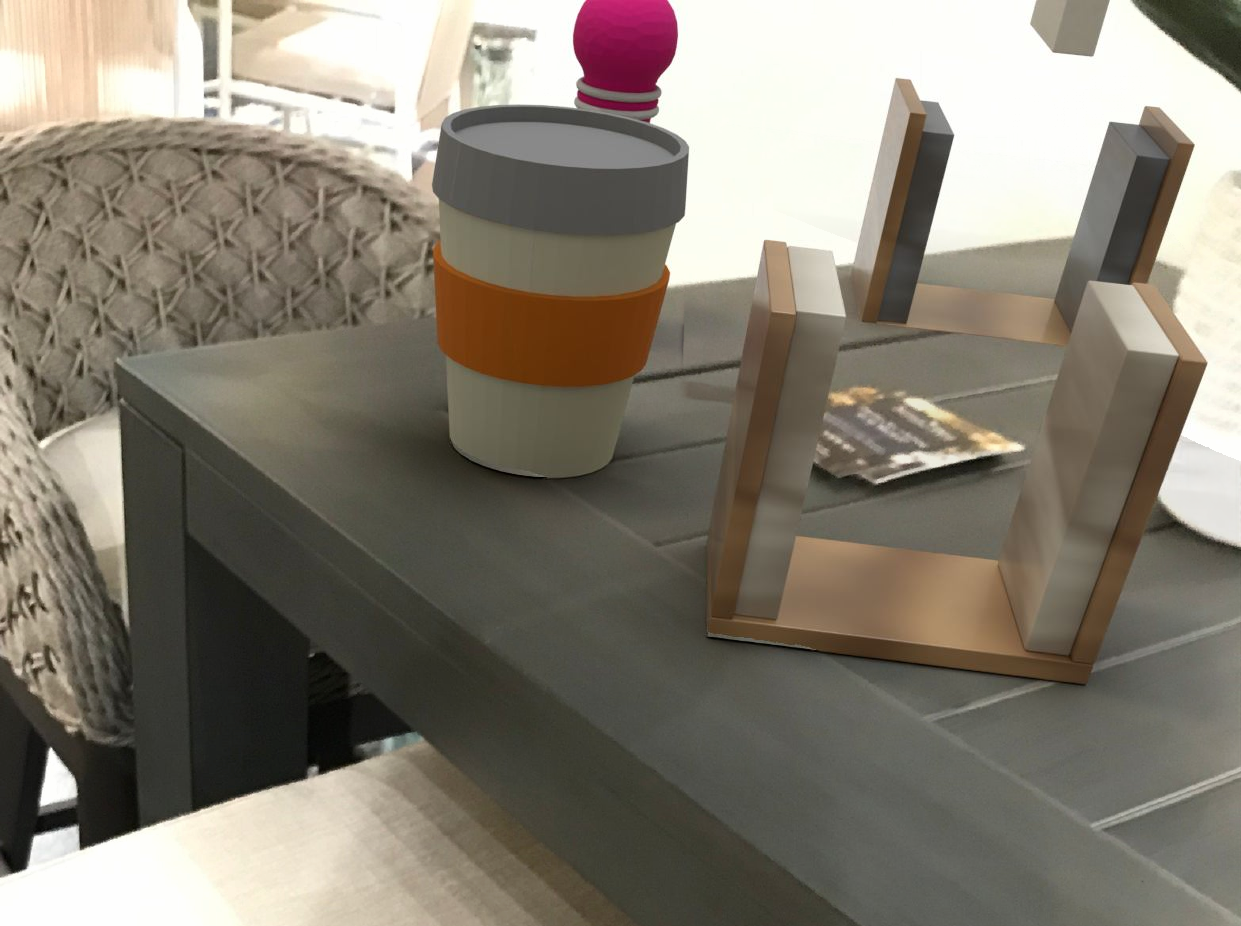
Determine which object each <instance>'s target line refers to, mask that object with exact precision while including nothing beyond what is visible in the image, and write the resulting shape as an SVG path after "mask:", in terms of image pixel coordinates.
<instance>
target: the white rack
mask: <svg viewBox="0 0 1241 926" xmlns="http://www.w3.org/2000/svg"><path fill="white" fill-rule="evenodd" d="M762 244H763V245H762V247H761V248H762V249H761V254H760V260H759V264H758V270H757V275H756V280H755V285H754V291H753V296H752V300H751V301H752V302H751V306H750V312H749V317H748V322H747V327H746V332H745V333H746V334H745V338H744V341H743V342H744V343H743V348H742V354H741V357H740V359H741V360H740V363H739V368H738V369H739V370H738V375H737V380H736V384H735V389H734V390H735V392H734V395H733V400H732V406H731V411H730V417H729V422H728V427H727V431H726V432H727V433H726V437H725V442H724V449H723V454H722V458H721V462H720V463H721V464H720V469H719V474H718V479H717V485H716V490H715V496H714V500H713V505H712V510H711V516H710V522H709V527H708V533H707V538H706V543H705V544H706V545H705V547H706V548H705V550H706V551H705V553H706V554H705V555H706V558H705V559H706V561H705V563H706V564H705V565H706V573H705V574H706V575H705V576H706V577H705V578H706V581H707V584H706V631H707V630H708V632H710V633H713V634H722V635H727V636H732V637H744V638H753V639H755V640H764V641H770V642H774V643H776V642H778V643H784V644H788V645H795V644H797V645H801V646H805V647H810V648H812V649H816V650H819V651H818V652H823V653H831V654H838V655H848V656H854V657H861V658H871V659H877V660H878V659H879V660H887V661H895V662H902V663H911V664H918V665H927V666H935V667H942V668H943V667H944V668H950V669H951V668H952V669H958V670H967V671H975V672H984V673H991V674H1000V675H1007V676H1013V677H1014V676H1015V677H1023V678H1031V679H1040V680H1047V681H1053V682H1054V681H1055V682H1063V683H1069V684H1079V685H1087V684H1088V681H1089V679H1090V677H1091V673H1092V671H1093V668H1094V664H1095V663H1096V660H1097V658H1098V655H1099V652H1100V650H1101V647H1102V644H1103V641H1104V639H1105V636H1106V634H1107V632H1108V629H1109V627H1110V623H1111V621H1112V618H1113V615H1114V612H1115V611H1116V607H1117V604H1118V602H1119V600H1120V596H1121V594H1122V591H1123V588H1124V587H1125V585H1126V581H1127V578H1128V575H1129V573H1130V570H1131V568H1132V565H1133V562H1134V561H1135V557H1136V555H1137V552H1138V549H1139V546H1140V544H1141V541H1142V539H1143V536H1144V534H1145V531H1146V528H1147V526H1148V523H1149V520H1150V517H1151V515H1152V512H1153V509H1154V507H1155V504H1156V502H1157V498H1158V496H1159V494H1160V491H1161V488H1162V486H1163V483H1164V480H1165V478H1166V474H1167V472H1168V469H1169V467H1170V465H1171V462H1172V459H1173V456H1174V454H1175V452H1176V448H1177V446H1178V443H1179V441H1180V438H1181V435H1182V433H1183V431H1184V427H1185V425H1186V422H1187V420H1188V417H1189V414H1190V412H1191V409H1192V406H1193V404H1194V401H1195V399H1196V395H1197V393H1198V391H1199V388H1200V385H1201V383H1202V381H1203V377H1204V375H1205V372H1206V370H1207V369H1206V368H1207V366H1208V361H1207V359H1206V358H1205V356H1204V355H1203V353H1202V352H1201V351H1200V350H1201V349H1199V347H1198V346H1197V345H1196V343H1195V341H1194V340H1193V338H1192V337H1191V336H1190V334H1189V333H1188V331H1187V330H1186V329H1185V327H1184V326H1183V324H1182V323H1181V321H1180V320H1179V319H1178V317H1177V316H1176V314H1175V313H1174V311H1173V310H1172V308H1171V307H1170V305H1169V304H1168V302H1167V300H1166V299H1165V298H1164V297H1163V295H1162V294H1161V292H1160V290H1159V289H1158V288H1157V286H1156V285H1155V284H1151V283H1147V284H1143V283H1132V285H1124V284H1116V283H1107V282H1098V281H1088V283H1087V286H1086V289H1085V292H1084V295H1083V298H1082V301H1081V304H1080V307H1079V311H1078V314H1077V317H1076V320H1075V323H1074V326H1073V329H1072V333H1071V336H1070V339H1069V342H1068V345H1067V346H1066V348H1065V351H1064V355H1063V358H1062V361H1061V364H1060V367H1059V370H1058V373H1057V377H1056V379H1055V383H1054V386H1053V389H1052V391H1051V396H1050V397H1049V398H1050V399H1049V402H1048V405H1047V408H1046V411H1045V415H1044V417H1043V420H1042V424H1041V427H1040V429H1039V433H1038V437H1037V439H1036V443H1035V446H1034V449H1033V452H1032V455H1031V458H1030V461H1029V464H1028V467H1027V471H1026V474H1025V476H1024V480H1023V482H1022V487H1021V489H1020V493H1019V495H1018V499H1017V502H1016V504H1015V508H1014V511H1013V514H1012V518H1011V521H1010V524H1009V526H1008V530H1007V532H1006V533H1007V534H1006V535H1005V540H1004V543H1003V545H1002V549H1001V552H1000V555H999V559H998V560H997V559H989V558H982V557H981V558H980V557H972V556H966V555H965V556H964V555H954V554H948V553H941V552H940V553H939V552H932V551H923V550H915V549H907V548H901V547H900V548H899V547H892V546H891V547H890V546H882V545H874V544H866V543H859V542H858V543H857V542H850V541H841V540H834V539H833V540H832V539H825V538H819V537H818V538H817V537H808V536H801V535H798V530H799V526H800V521H801V517H802V513H803V509H804V504H805V501H806V496H807V492H808V487H809V483H810V478H811V474H812V470H813V465H814V461H815V457H816V451H817V447H818V443H819V439H820V435H821V429H822V427H823V426H822V425H823V421H824V417H825V412H826V408H827V404H828V399H829V395H830V392H831V386H832V382H833V377H834V373H835V368H836V364H837V360H838V356H839V351H840V347H841V342H842V338H843V334H844V330H845V325H846V320H847V313H846V309H845V304H844V300H843V295H842V294H843V293H842V289H841V285H840V281H839V276H838V275H839V274H838V271H837V266H836V261H835V257H834V252H833V251H832V250H831V249H830V250H829V249H821V248H812V247H803V246H797V245H796V246H795V245H788V244H787V242H786V241H779V240H771V239H764V240H763V242H762ZM707 619H708V620H707ZM707 627H708V628H707Z"/></svg>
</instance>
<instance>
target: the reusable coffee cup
mask: <svg viewBox="0 0 1241 926" xmlns="http://www.w3.org/2000/svg"><path fill="white" fill-rule="evenodd" d="M689 157H690V146H689V143H687V141H686V140H685V139H684V138H682V137H681V136H680V135H678V134H676V133H675V132H673V131H671V130H669V129H666V128H664V127H662V126H659V125H656V124H653V123H651V122H650V123H648V122H644V121H640V120H637V119H633V118H630V117H625V116H620V115H616V114H611V113H605V112H599V111H593V110H587V109H579V108H577V107H570V106H558V105H544V104H495V105H484V106H477V107H470V108H465V109H462V110H461V109H460V110H458V111H456V112H452V113H450V115H447V116H445V117H444V119H443V120H442V122H441V124H440V132H439V137H438V145H437V150H436V156H435V163H434V169H433V175H432V182H431V188H432V192H433V194H434V195H435V196H436V197H437V199H438V215H439V235H440V236H439V237H440V240H439V241H438V242H437V243H436V244H435V245H434V247H433V249H432V257H433V258H432V260H433V279H434V298H435V299H434V300H435V301H434V302H435V318H436V320H435V321H436V339H437V346H438V347H439V349H440V350H441V352H442V353H443V354H444V355H445V364H446V365H445V366H446V367H445V368H446V386H447V389H446V390H447V407H448V409H447V411H448V427H449V431H448V432H449V439H450V438H451V440H452V441H453V443H454V444H455V445H457V446H458V448H460V449H462V451H463V452H466V453H468V454H469V455H471V456H475V457H476V458H478V459H480V460H483V461H486V462H489V463H490V464H494V465H498V466H501V467H505V468H511V469H518V470H524V471H530V472H532V473H535V474H538V475H543V476H545V477H547V478H546V479H564V478H565V479H566V478H574V477H579V476H584V475H588V474H591V473H594V472H597V471H599V470H601V469H603V468H604V467H605V466H607V465H609V463H610V462H611V461H612V459H613V456H614V453H615V449H616V446H617V442H618V439H619V434H620V432H621V431H620V430H621V427H622V424H623V420H624V416H625V413H626V409H627V406H628V401H629V398H630V395H631V390H632V386H633V383H634V380H635V376H636V375H637V374H638V373H640V372H641V371H642V370H643V369H644V368H645V367H646V365H647V362H648V359H649V354H650V351H651V347H652V344H653V341H654V340H653V339H654V336H655V332H656V329H657V325H658V322H659V318H660V315H661V311H662V309H663V308H662V307H663V303H664V300H665V297H666V294H667V289H668V285H669V282H670V279H671V278H670V277H671V272H670V269H669V267H668V265H667V264H666V262H667V257H668V255H669V251H670V248H671V243H672V241H673V236H674V233H675V229H676V225H677V224H678V223H680V222H681V220H683V218H684V217H685V215H686V205H687V191H688V190H687V189H688V174H689V173H688V172H689Z"/></svg>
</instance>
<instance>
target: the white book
mask: <svg viewBox="0 0 1241 926" xmlns="http://www.w3.org/2000/svg"><path fill="white" fill-rule="evenodd" d="M1110 1H1111V0H1035V2H1034V6H1033V11H1032V14H1031V18H1030V21H1029V24H1030V26H1031V27H1032V28H1033V30H1034V31H1035V32H1036V34H1037V35H1038V36H1039V37H1040V38H1041V40H1042V41H1043V42H1044V43H1045V45H1046V47H1048V48H1049V50H1051V52H1052V53H1054V54H1060V55H1061V54H1062V55H1073V56H1082V57H1090V58H1092V57H1094V56H1095V52H1096V49H1097V46H1098V42H1099V40H1100V39H1099V38H1100V35H1101V32H1102V29H1103V26H1104V21H1105V18H1106V15H1107V12H1108V8H1109V5H1110Z"/></svg>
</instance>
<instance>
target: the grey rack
mask: <svg viewBox="0 0 1241 926" xmlns="http://www.w3.org/2000/svg"><path fill="white" fill-rule="evenodd" d="M891 92H892V93H891V96H890V99H889V100H890V101H889V105H888V109H887V113H886V117H885V123H884V127H883V131H882V137H881V139H880V140H881V141H880V144H879V145H880V146H879V150H878V153H877V159H876V162H875V167H874V172H873V176H872V179H871V180H872V181H871V184H870V189H869V193H868V198H867V202H866V206H865V211H864V216H863V220H862V224H861V228H860V233H859V237H858V242H857V247H856V251H855V255H854V260H853V264H852V268H851V273H850V279H851V283H852V288H853V293H854V297H855V301H856V306H857V310H858V315H859V318H860V319H859V320H860V322H861V323H868V324H877V325H886V326H893V327H901V328H902V327H903V328H912V329H918V330H919V329H920V330H929V331H937V332H945V333H954V334H962V335H971V336H977V337H987V338H997V339H1003V340H1005V339H1006V340H1012V341H1013V340H1014V341H1022V342H1023V341H1024V342H1029V343H1037V344H1038V343H1039V344H1047V345H1055V346H1065V347H1067V345H1068V342H1069V339H1070V336H1071V333H1072V329H1073V326H1074V323H1075V320H1076V317H1077V314H1078V311H1079V307H1080V304H1081V301H1082V298H1083V295H1084V292H1085V289H1086V286H1087V283H1088V281H1098V282H1107V283H1116V284H1124V285H1132V283H1143V284H1149V280H1150V278H1151V275H1152V271H1153V268H1154V266H1155V264H1156V259H1157V256H1158V254H1159V251H1160V248H1161V245H1162V243H1163V240H1164V237H1165V233H1166V230H1167V227H1168V224H1169V221H1170V219H1171V216H1172V213H1173V210H1174V208H1175V205H1176V201H1177V198H1178V195H1179V193H1180V190H1181V187H1182V183H1183V181H1184V178H1185V175H1186V172H1187V169H1188V166H1189V163H1190V161H1191V157H1192V155H1193V151H1194V148H1195V146H1196V145H1195V143H1194V142H1193V141H1192V139H1190V137H1188V136H1187V134H1185V132H1184V131H1182V129H1181V128H1180V127H1179V126H1178V125H1177V124H1176V123H1175V122H1174V121H1173V120H1172V119H1171V118H1170V117H1169V116H1168V115H1167V114H1166V112H1164V111H1163V109H1162V108H1161V107H1159V106H1150V105H1145V106H1144V107H1143V111H1142V114H1141V117H1140V119H1139V123H1138V124H1134V123H1126V122H1117V121H1109V122H1108V125H1107V128H1106V131H1105V135H1104V138H1103V141H1102V144H1101V147H1100V151H1099V155H1098V157H1097V161H1096V164H1095V166H1094V171H1093V174H1092V177H1091V180H1090V183H1089V185H1088V186H1089V187H1088V190H1087V193H1086V196H1085V199H1084V203H1083V206H1082V209H1081V212H1080V216H1079V219H1078V221H1077V225H1076V229H1075V232H1074V235H1073V237H1072V242H1071V244H1070V248H1069V252H1068V255H1067V258H1066V261H1065V264H1064V268H1063V270H1062V274H1061V278H1060V281H1059V284H1058V287H1057V290H1056V294H1055V297H1054V298H1050V297H1049V298H1048V297H1040V296H1033V295H1032V296H1031V295H1023V294H1014V293H1005V292H999V291H997V292H996V291H988V290H980V289H971V288H963V287H954V286H945V285H937V284H930V283H929V284H928V283H920V282H918V281H919V278H920V277H919V276H920V274H921V273H920V272H921V268H922V264H923V261H924V257H925V252H926V250H927V245H928V241H929V237H930V233H931V230H932V225H933V221H934V217H935V214H936V210H937V206H938V202H939V197H940V194H941V190H942V185H943V182H944V178H945V174H946V170H947V167H948V162H949V158H950V155H951V150H952V146H953V142H954V138H955V134H954V131H953V129H952V127H951V125H950V123H949V121H948V119H947V117H946V115H945V113H944V111H943V109H942V107H941V105H940V103H939V102H938V101H931V100H921V99H920V96H919V95H918V93H917V90H916V88H915V85H914V84H913V82H912V80H911V79H909V78H901V77H896V78H895V79H894V83H893V87H892V91H891Z"/></svg>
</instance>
